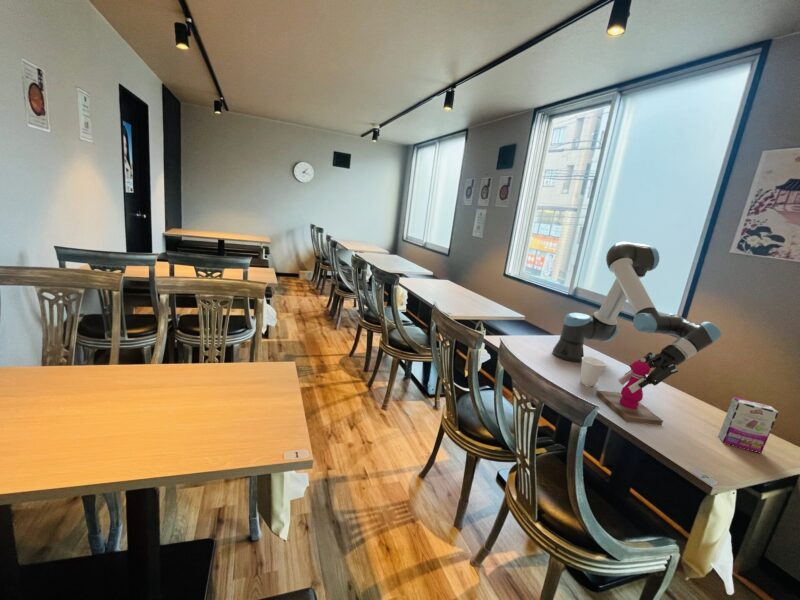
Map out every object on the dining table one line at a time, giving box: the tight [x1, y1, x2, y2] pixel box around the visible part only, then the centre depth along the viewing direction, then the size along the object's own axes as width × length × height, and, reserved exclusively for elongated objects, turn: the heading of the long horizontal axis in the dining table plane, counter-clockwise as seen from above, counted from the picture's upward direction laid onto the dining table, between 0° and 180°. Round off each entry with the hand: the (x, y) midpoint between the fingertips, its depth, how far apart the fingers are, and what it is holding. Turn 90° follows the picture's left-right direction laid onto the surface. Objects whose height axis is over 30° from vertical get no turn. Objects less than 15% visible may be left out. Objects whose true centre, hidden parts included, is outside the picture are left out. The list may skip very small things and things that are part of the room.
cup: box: [579, 356, 607, 387], centre depth 163 cm, size 10×10×11 cm
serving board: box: [595, 389, 664, 426], centre depth 145 cm, size 20×14×2 cm
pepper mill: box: [620, 357, 651, 409], centre depth 143 cm, size 7×7×20 cm
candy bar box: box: [717, 396, 780, 454], centre depth 129 cm, size 11×5×16 cm, turn 68°
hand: (625, 386), depth 143 cm, fingers open, 6 cm apart
